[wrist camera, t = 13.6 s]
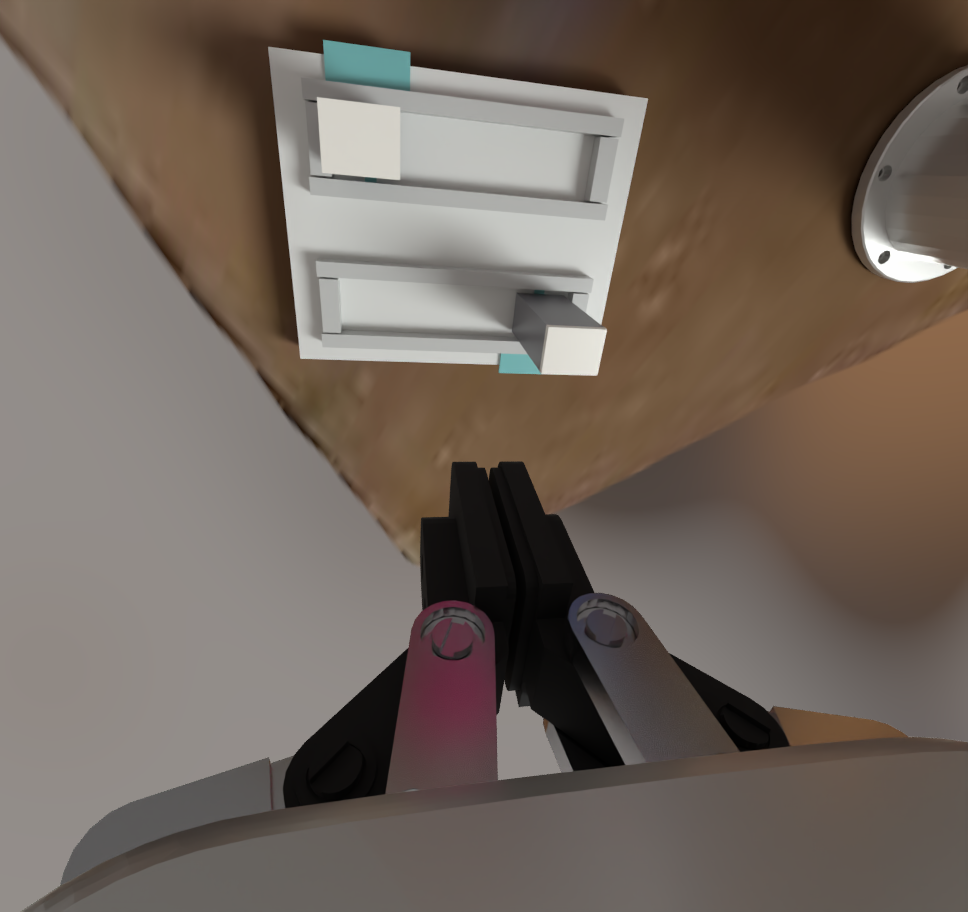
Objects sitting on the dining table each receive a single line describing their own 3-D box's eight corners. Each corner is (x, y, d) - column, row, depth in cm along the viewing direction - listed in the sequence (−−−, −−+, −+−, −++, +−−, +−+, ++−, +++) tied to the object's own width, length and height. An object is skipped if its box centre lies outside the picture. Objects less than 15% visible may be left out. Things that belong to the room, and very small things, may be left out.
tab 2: (563, 295, 30) (606, 329, 24) (557, 333, 32) (597, 375, 25) (516, 292, 30) (548, 326, 24) (511, 331, 31) (541, 374, 25)
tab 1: (398, 121, 25) (400, 107, 18) (398, 176, 26) (400, 180, 20) (337, 114, 24) (316, 97, 18) (340, 170, 25) (321, 172, 19)
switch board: (634, 91, 27) (659, 84, 25) (581, 364, 35) (595, 379, 33) (275, 41, 24) (261, 27, 22) (306, 355, 32) (298, 372, 30)
